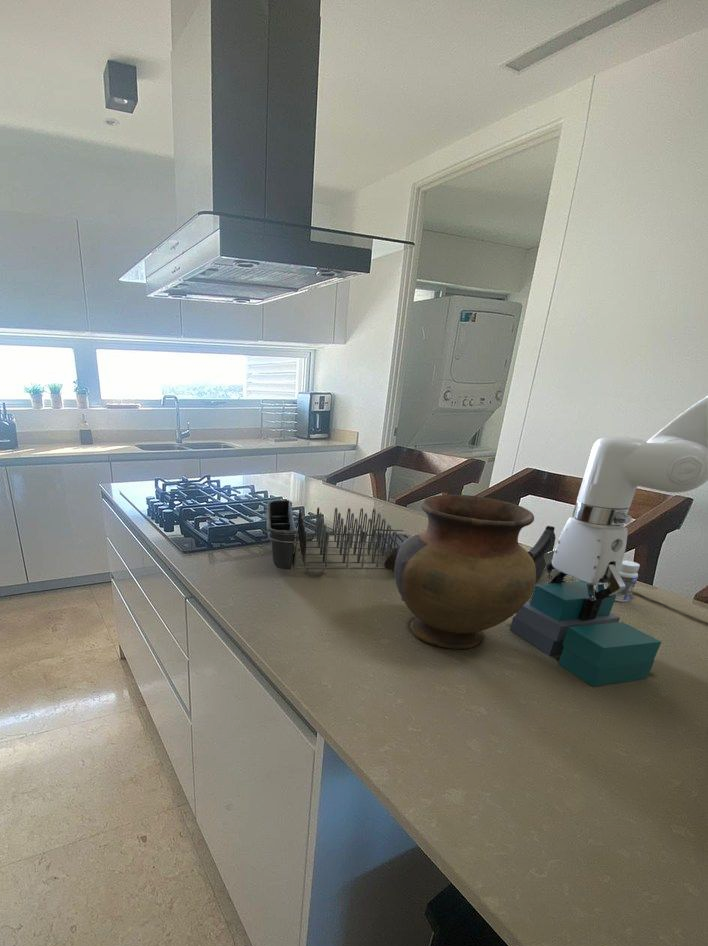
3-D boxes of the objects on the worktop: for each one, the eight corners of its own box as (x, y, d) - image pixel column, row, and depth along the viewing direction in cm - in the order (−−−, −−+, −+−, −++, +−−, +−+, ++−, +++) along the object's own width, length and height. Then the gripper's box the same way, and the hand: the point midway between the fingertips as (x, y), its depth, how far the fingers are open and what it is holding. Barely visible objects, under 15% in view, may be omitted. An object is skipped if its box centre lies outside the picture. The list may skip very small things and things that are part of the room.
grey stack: (568, 622, 98) (577, 595, 95) (614, 648, 89) (625, 618, 86) (508, 629, 94) (515, 601, 92) (549, 656, 85) (558, 626, 83)
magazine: (529, 566, 101) (565, 501, 118) (513, 563, 103) (550, 499, 119) (516, 627, 111) (550, 560, 128) (501, 623, 113) (537, 557, 130)
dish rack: (265, 536, 146) (266, 497, 141) (412, 540, 146) (419, 500, 141) (265, 579, 115) (266, 530, 110) (451, 584, 115) (461, 535, 110)
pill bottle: (629, 604, 107) (642, 568, 103) (604, 599, 109) (616, 563, 105) (628, 597, 110) (641, 562, 107) (603, 592, 112) (615, 557, 109)
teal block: (577, 599, 93) (583, 580, 92) (609, 615, 87) (616, 595, 86) (529, 604, 91) (535, 584, 89) (559, 621, 85) (565, 600, 83)
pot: (366, 650, 86) (384, 512, 76) (385, 599, 106) (401, 485, 96) (522, 682, 78) (566, 533, 68) (511, 620, 98) (543, 498, 88)
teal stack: (608, 655, 86) (621, 620, 83) (647, 678, 80) (663, 641, 77) (555, 663, 83) (566, 627, 81) (591, 687, 77) (605, 649, 74)
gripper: (667, 527, 75) (628, 629, 82) (575, 501, 90) (549, 589, 98) (628, 530, 73) (592, 633, 81) (541, 503, 88) (517, 592, 96)
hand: (569, 608), depth 89 cm, fingers closed on teal block, 7 cm apart
